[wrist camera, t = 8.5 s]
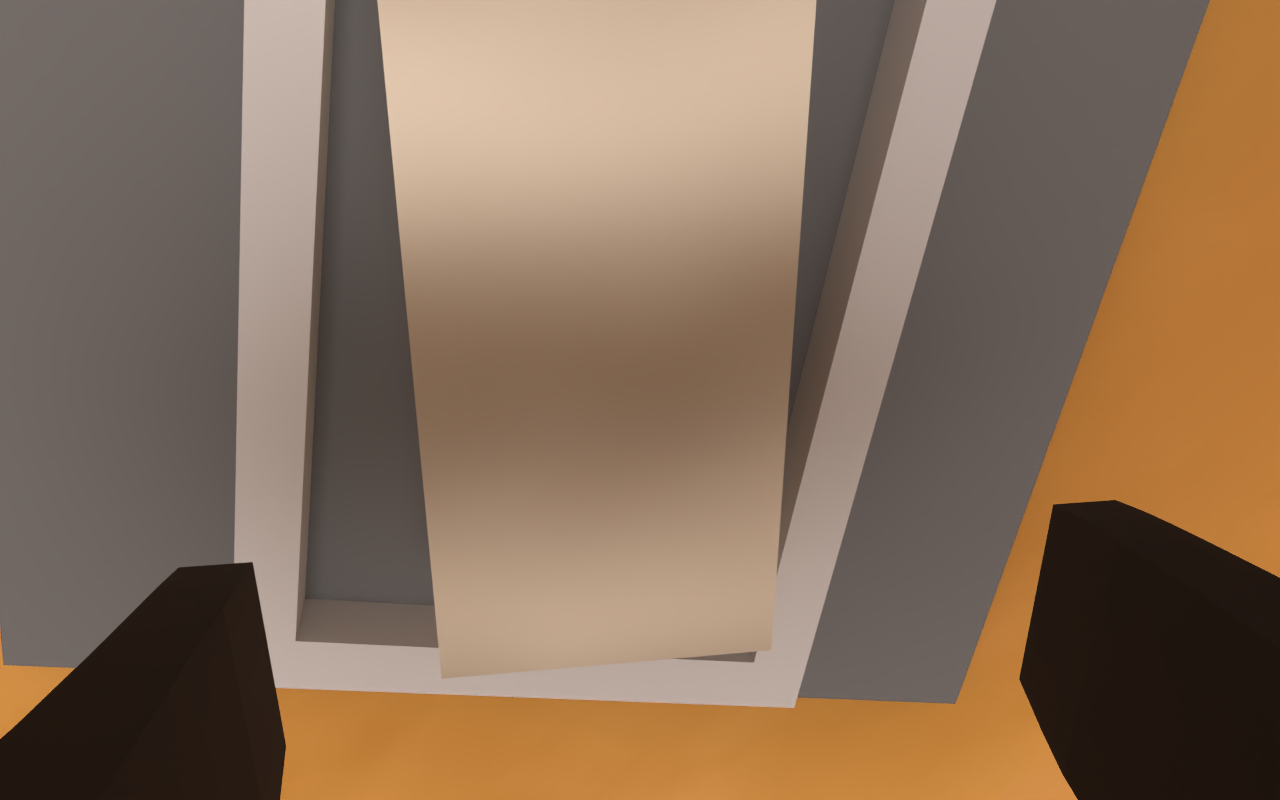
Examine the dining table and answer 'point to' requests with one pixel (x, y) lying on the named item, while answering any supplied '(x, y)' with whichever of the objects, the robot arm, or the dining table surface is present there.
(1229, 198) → the dining table surface
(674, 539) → the beige oblong block
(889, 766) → the dining table surface
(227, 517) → the mat
